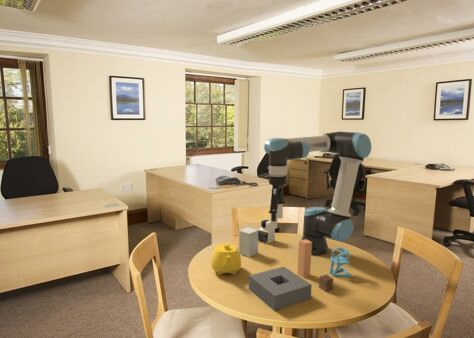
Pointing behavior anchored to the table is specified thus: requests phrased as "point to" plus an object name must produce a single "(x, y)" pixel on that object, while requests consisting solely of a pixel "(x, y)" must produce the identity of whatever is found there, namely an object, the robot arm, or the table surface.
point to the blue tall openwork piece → (339, 262)
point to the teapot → (226, 259)
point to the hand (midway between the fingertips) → (276, 222)
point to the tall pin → (304, 258)
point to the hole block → (279, 287)
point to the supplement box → (248, 242)
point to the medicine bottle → (266, 232)
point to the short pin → (326, 283)
